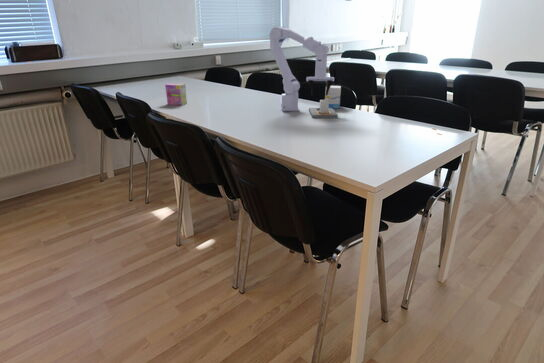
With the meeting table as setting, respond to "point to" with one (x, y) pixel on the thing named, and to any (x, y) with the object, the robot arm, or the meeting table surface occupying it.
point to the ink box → (333, 96)
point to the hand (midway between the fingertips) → (319, 94)
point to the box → (176, 94)
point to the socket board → (315, 114)
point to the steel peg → (324, 106)
